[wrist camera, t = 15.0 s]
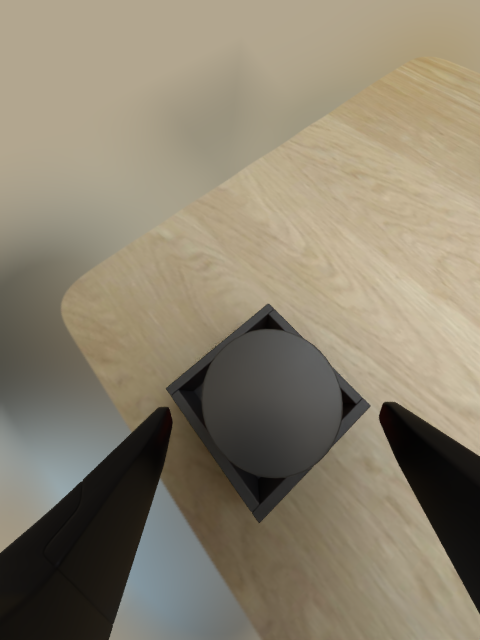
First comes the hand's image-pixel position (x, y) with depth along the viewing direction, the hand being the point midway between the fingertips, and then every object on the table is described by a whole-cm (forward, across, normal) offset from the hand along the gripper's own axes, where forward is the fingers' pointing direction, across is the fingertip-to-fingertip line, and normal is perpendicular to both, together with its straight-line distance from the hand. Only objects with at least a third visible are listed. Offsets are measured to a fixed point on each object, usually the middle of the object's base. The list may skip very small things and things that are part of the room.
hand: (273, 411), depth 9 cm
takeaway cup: (+8, 0, +7) cm, 11 cm away
